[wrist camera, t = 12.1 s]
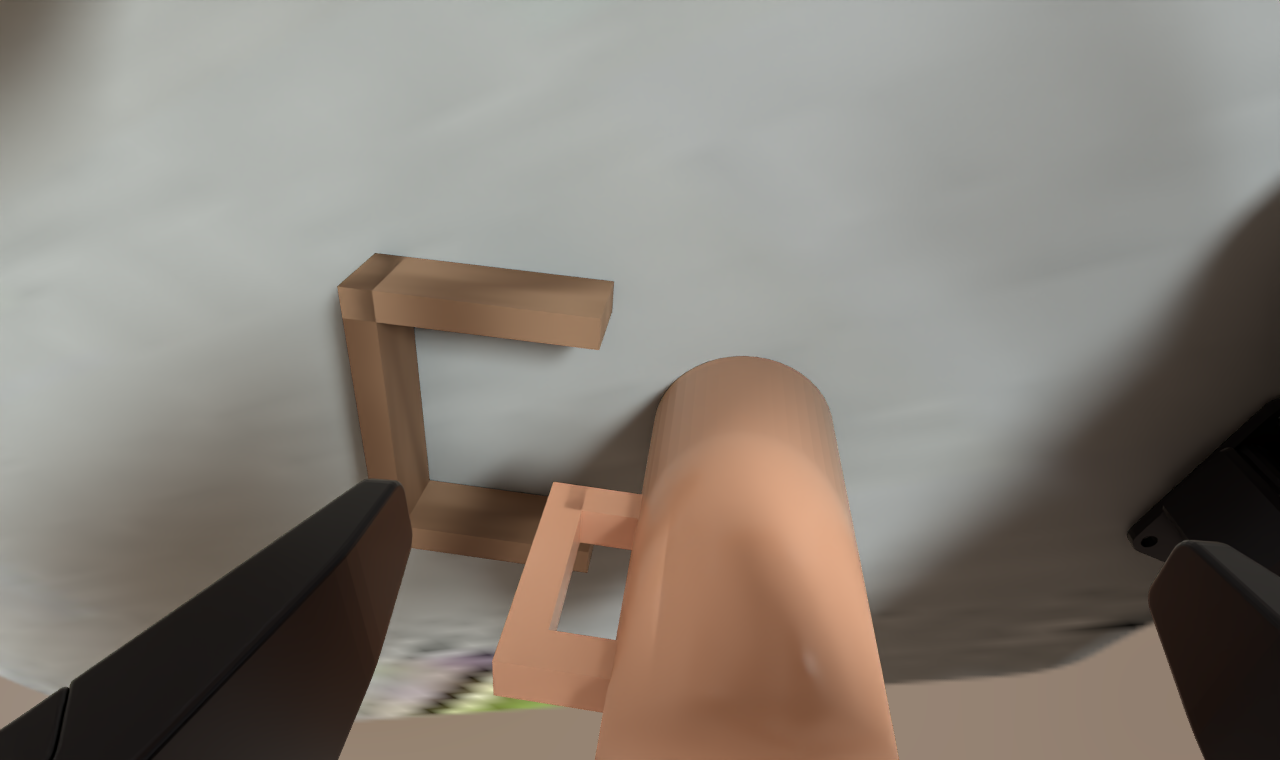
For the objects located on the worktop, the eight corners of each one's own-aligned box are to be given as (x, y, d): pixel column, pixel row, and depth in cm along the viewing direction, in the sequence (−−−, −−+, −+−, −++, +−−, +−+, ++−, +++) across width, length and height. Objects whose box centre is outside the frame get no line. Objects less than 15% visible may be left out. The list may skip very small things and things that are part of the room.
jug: (852, 369, 23) (946, 721, 12) (812, 512, 26) (860, 886, 16) (585, 334, 23) (464, 646, 13) (578, 479, 26) (476, 820, 16)
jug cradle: (614, 281, 22) (600, 318, 20) (598, 523, 27) (587, 572, 25) (375, 253, 22) (337, 286, 20) (406, 496, 28) (379, 543, 26)
